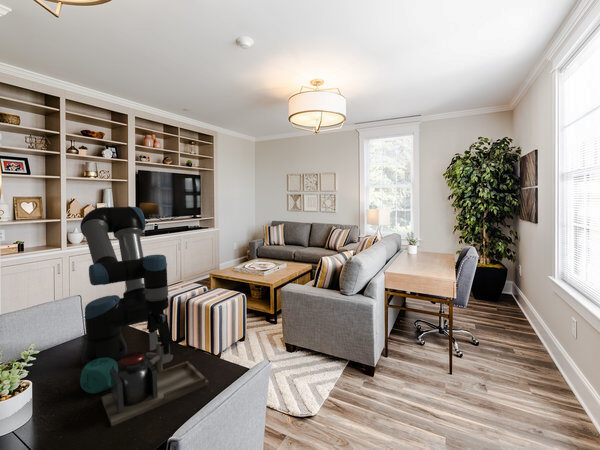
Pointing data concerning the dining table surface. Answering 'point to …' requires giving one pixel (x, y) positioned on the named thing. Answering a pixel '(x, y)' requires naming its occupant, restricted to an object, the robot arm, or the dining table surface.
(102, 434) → the dining table surface
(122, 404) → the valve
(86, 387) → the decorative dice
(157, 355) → the pipe connector
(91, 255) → the robot arm
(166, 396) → the jig
